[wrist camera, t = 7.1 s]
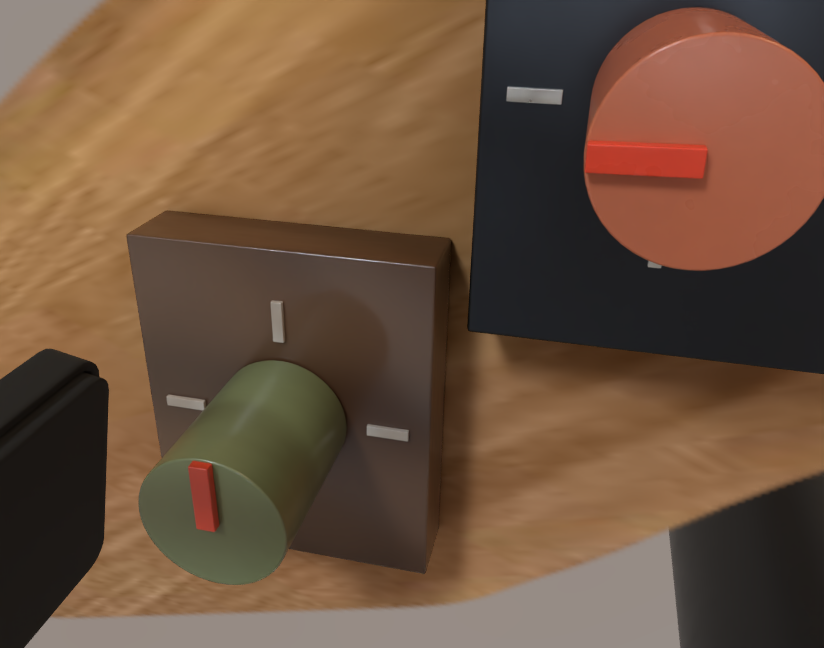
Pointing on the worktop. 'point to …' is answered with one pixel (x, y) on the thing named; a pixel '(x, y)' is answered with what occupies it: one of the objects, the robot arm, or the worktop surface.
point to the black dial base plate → (579, 224)
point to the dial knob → (704, 141)
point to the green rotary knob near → (244, 474)
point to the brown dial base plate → (311, 356)
